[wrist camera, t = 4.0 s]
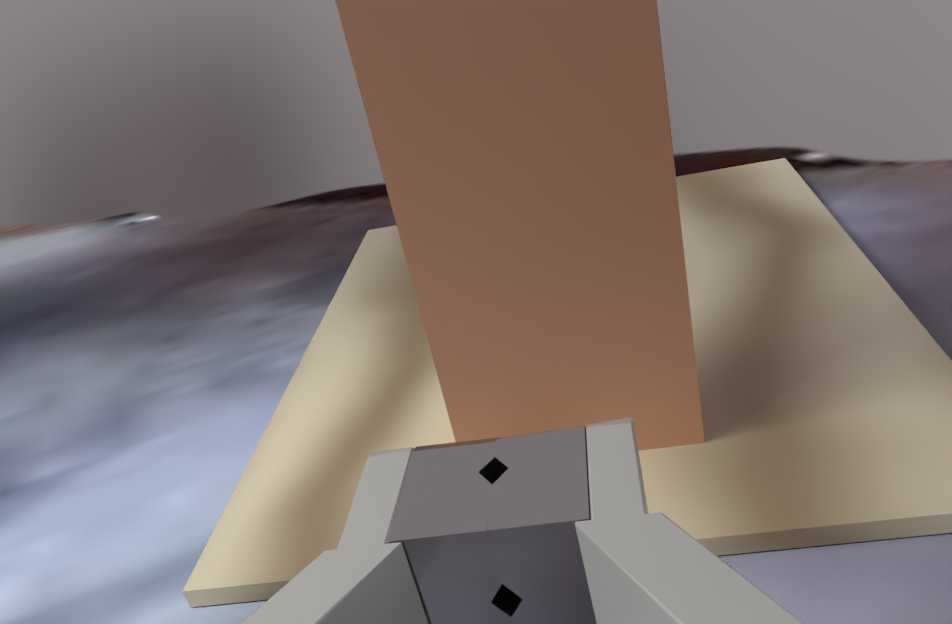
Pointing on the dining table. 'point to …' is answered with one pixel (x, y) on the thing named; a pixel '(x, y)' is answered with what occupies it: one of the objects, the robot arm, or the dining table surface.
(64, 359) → the dining table surface
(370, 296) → the board
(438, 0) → the tile
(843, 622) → the dining table surface
